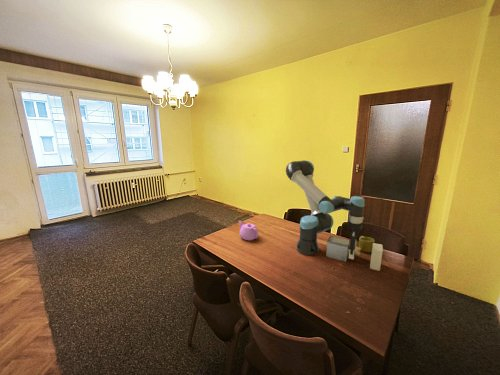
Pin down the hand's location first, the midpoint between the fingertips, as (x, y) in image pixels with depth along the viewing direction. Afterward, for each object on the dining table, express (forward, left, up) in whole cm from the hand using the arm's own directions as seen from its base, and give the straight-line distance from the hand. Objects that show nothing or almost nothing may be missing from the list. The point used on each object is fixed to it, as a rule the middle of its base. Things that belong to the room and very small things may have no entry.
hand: (352, 253), depth 131 cm
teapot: (-74, -7, -5) cm, 74 cm away
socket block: (+13, 0, -4) cm, 13 cm away
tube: (-4, 0, 0) cm, 4 cm away
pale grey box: (-9, 0, -4) cm, 10 cm away
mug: (+6, +20, -5) cm, 22 cm away
